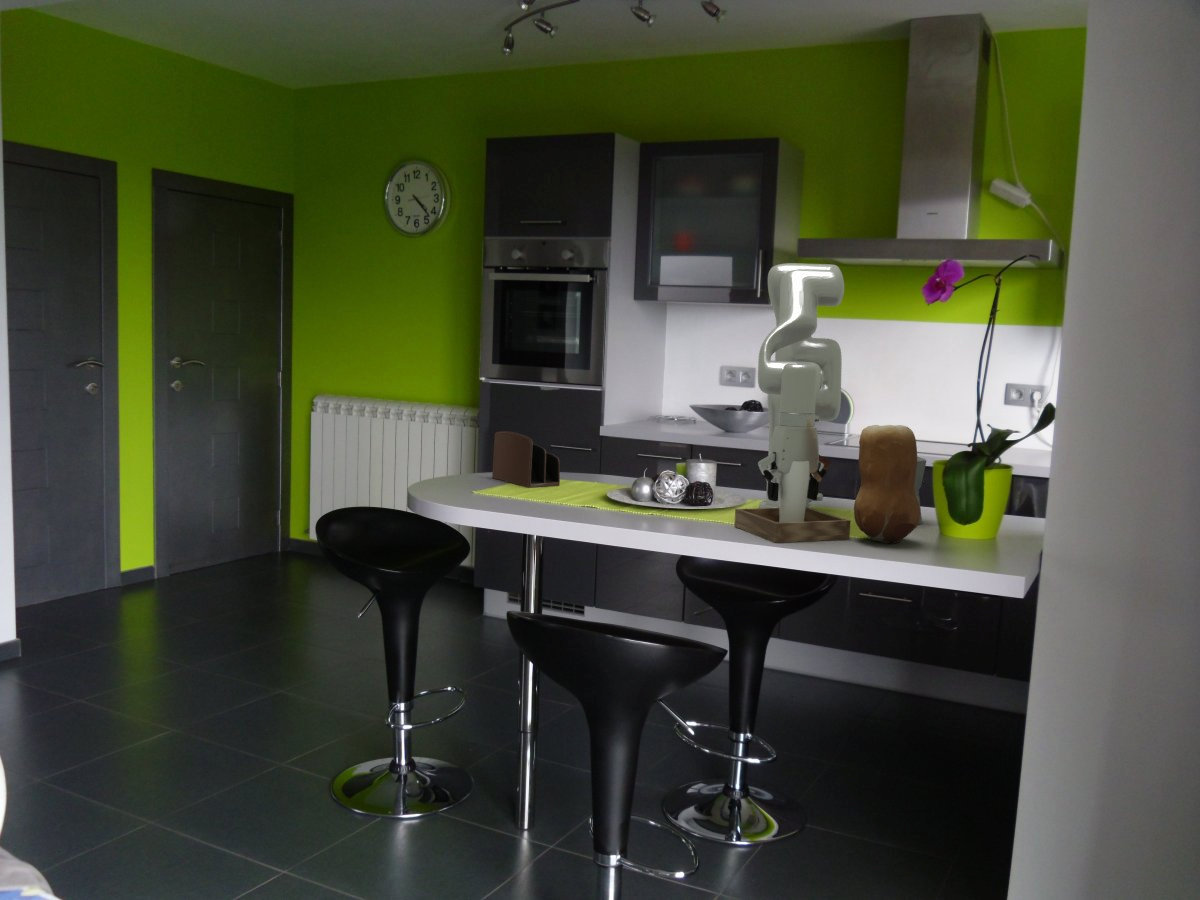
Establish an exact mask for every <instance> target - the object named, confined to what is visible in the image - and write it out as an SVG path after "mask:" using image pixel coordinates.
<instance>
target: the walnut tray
mask: <svg viewBox="0 0 1200 900" xmlns="http://www.w3.org/2000/svg"><path fill="white" fill-rule="evenodd" d="M851 523H852V522H851V519H850V520H849V519H845V518H843V517H840V516H836V515H833V514H830V513H827V512H823V511H820V510H818V509H815V508H812V507H811V508H808V507H806V509H805V518H804V522H783V523H779V508H760V507H757V508H756V507H754V508H735V512H734V528H736V527H738V528H737V529H739V528H741V529H743V530H742V531H744V530H745V532H747V531H748V532H747V533H749V534H752V535H754V536H757V537H759V538H762V539H765V540H768V541H770V542H773V543H775V544H776V543H777V544H778V543H799V542H798V541H803V542H818V541H819V542H821V540H824V541H840V540H841V541H842V540H843V541H844V540H846V541H847V540H850V538H851V536H850V535H851ZM741 529H740V530H741Z"/></svg>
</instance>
